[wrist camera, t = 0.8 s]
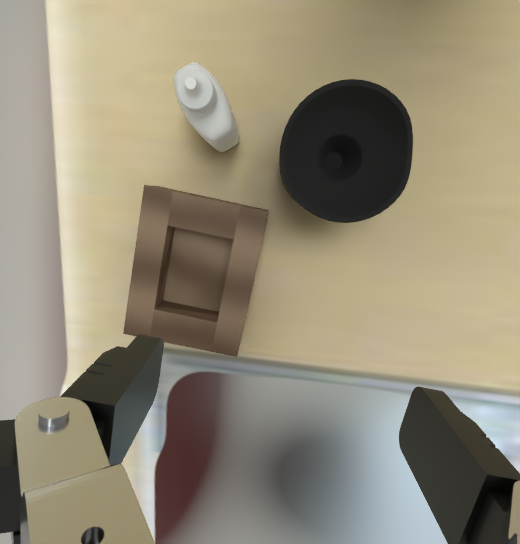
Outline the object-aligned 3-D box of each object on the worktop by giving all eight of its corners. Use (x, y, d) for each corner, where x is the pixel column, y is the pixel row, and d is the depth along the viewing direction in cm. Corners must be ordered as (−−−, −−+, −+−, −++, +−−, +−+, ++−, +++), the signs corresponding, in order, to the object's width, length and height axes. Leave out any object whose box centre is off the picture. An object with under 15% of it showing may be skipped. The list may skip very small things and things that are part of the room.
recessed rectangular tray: (157, 186, 35) (144, 185, 31) (267, 210, 35) (268, 212, 31) (138, 319, 38) (123, 333, 34) (239, 340, 38) (237, 356, 34)
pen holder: (394, 159, 34) (446, 145, 24) (327, 234, 36) (351, 249, 26) (321, 90, 33) (345, 46, 23) (255, 171, 35) (252, 162, 25)
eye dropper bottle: (194, 153, 34) (158, 131, 23) (191, 89, 33) (151, 32, 21) (240, 152, 34) (227, 131, 23) (239, 89, 33) (225, 31, 21)
